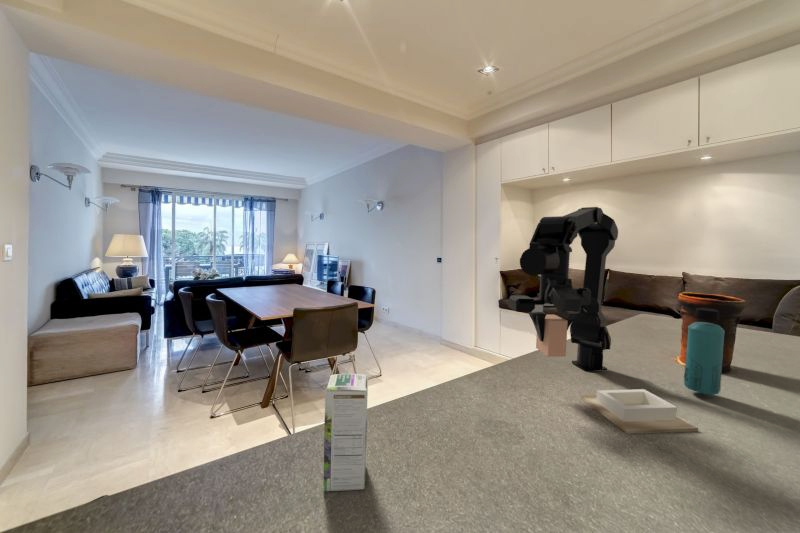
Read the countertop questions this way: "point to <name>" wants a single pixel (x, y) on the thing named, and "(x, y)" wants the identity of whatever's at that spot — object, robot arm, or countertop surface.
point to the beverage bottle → (704, 354)
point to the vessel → (712, 321)
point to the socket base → (641, 426)
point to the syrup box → (345, 432)
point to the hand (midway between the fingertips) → (550, 341)
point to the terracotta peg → (553, 337)
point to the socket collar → (648, 412)
